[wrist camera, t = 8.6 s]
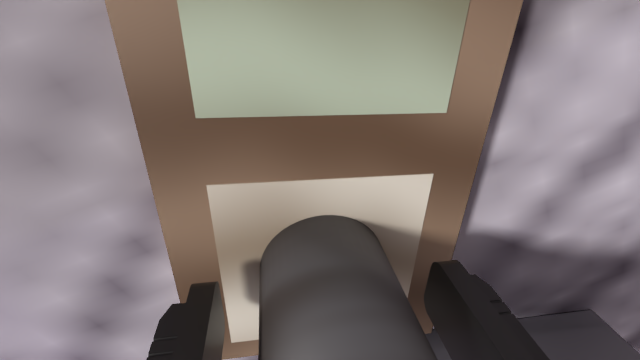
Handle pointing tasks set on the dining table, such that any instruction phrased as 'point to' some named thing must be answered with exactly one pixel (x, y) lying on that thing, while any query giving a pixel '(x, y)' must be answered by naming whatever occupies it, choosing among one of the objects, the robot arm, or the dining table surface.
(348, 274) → the pawn
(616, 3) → the dining table surface
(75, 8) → the dining table surface
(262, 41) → the board
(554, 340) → the dome collar
